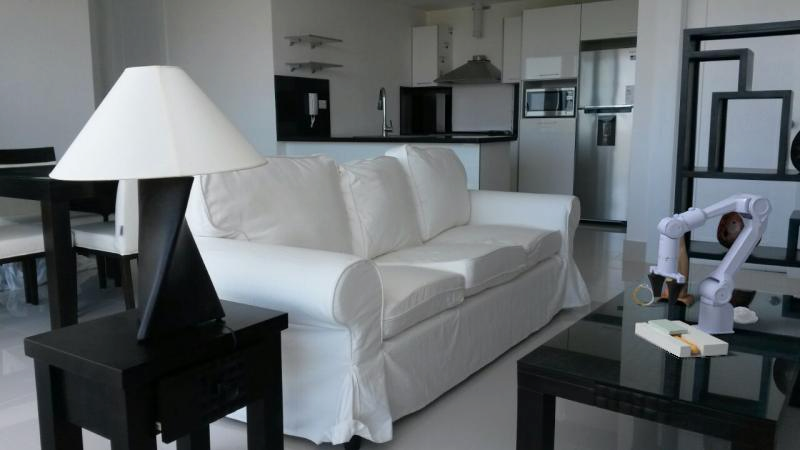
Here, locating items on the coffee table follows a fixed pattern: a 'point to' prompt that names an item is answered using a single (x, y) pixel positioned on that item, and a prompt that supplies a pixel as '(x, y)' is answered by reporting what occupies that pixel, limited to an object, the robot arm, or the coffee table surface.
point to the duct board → (677, 347)
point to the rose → (744, 315)
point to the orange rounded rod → (693, 347)
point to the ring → (641, 288)
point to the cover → (668, 326)
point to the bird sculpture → (683, 271)
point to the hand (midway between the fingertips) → (664, 300)
